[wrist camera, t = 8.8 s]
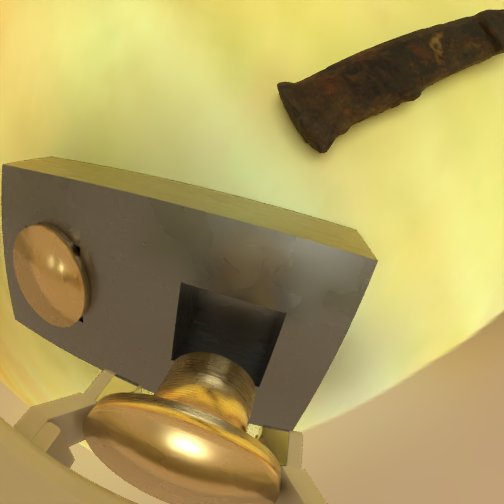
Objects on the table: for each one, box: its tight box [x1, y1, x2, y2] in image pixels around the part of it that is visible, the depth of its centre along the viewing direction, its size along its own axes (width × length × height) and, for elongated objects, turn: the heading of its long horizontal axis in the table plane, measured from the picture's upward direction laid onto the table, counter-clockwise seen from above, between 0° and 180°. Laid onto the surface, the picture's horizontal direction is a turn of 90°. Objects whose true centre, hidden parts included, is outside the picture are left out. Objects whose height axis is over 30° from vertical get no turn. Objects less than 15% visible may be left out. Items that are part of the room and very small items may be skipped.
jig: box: [2, 157, 378, 431], centre depth 16 cm, size 22×12×6 cm, turn 76°
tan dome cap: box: [82, 352, 282, 504], centre depth 9 cm, size 6×6×5 cm
